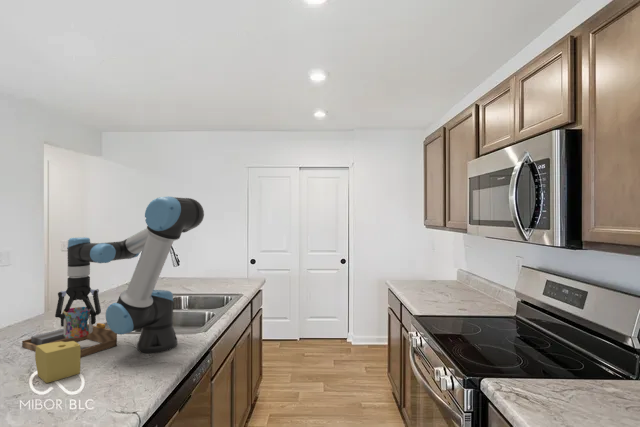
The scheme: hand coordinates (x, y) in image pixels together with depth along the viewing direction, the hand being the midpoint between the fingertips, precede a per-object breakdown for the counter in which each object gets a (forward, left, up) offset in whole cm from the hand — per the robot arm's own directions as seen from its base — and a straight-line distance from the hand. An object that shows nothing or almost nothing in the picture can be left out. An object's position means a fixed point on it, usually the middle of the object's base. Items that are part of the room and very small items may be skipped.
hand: (78, 333), depth 148 cm
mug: (0, 0, -1) cm, 1 cm away
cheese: (-19, +17, -6) cm, 26 cm away
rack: (+6, 0, -6) cm, 9 cm away
